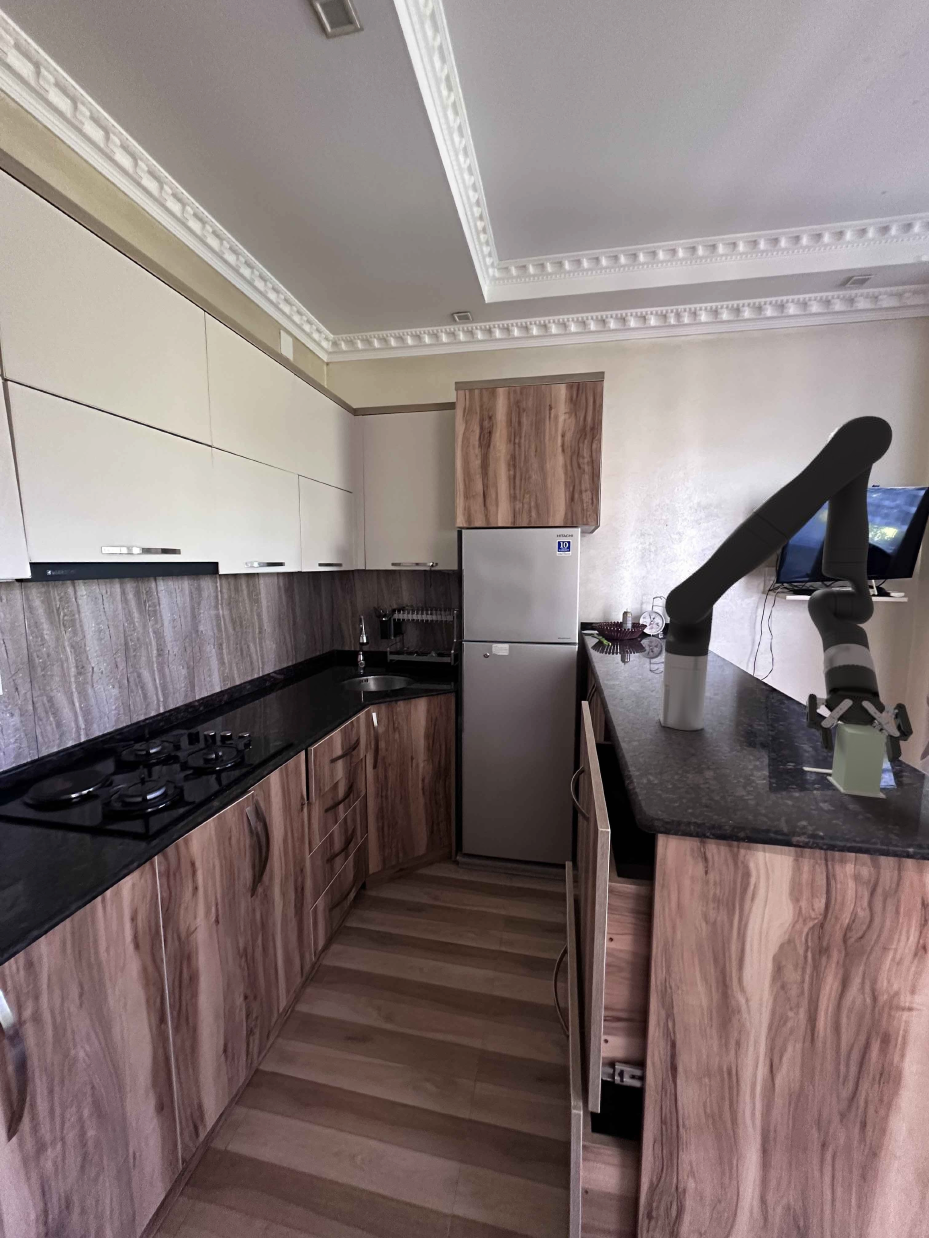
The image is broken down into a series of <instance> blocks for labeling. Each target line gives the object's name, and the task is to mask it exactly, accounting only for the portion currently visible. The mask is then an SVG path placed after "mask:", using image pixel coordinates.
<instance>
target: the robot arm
mask: <svg viewBox="0 0 929 1238" xmlns="http://www.w3.org/2000/svg"><path fill="white" fill-rule="evenodd" d="M892 441H893V429H892V427H891V425H890V423H889V422H888V421H887V420H886V419H884V418H882V417H879V416H875V415H863V416H859V417H853V418H852V419H850V420H847V421H845V422H844V423H842V424H840V425H839V426H838V427H836V428H835V429H834V430H833V431H832V432H831V433H830V434H829V435H828V437H827V438H826V440H825V443H824V446H823V447H822V448H821V449H820V451H819V452H818V453H817V454H816V455H815V457H814V458H813V459H812V460H811V461H810V462H809V463H808V464H807V465H806V467H804V468H803V469H802V471H800V472H799V473H798V474H797V475H796V476H795V477H793V478H792V479H791V480H790V481H788V482H787V483H786V484H784V485H783V486H781V487H780V488H779V489H777V490H776V491H775V492H774V493H772V494H771V495H770V496H768V497H767V498H766V499H765V500H764V501H763V502H761V503H760V504H759V505H758V506H757V507H756V508H755V509H753V511H752V512H750V513H749V514H748V515H747V517H745V518H744V519H743V521H741V522H740V523H739V524H738V525H737V526H736V528H735V529H734V530H733V531H732V532H731V533H730V534H728V536H727V537H726V538H725V539H724V541H723V542H722V543H721V544H720V545H719V546H718V547H717V549H716V550H715V551H714V552H713V554H712V555H711V556H710V557H709V558H708V560H706V562H704V563H703V564H702V565H701V566H699V568H697V569H696V570H695V571H694V572H693V573H692V574H691V575H689V576H688V577H686V578H685V579H684V580H683V581H681V583H679V584H678V585H676V587H674V588H672V589H671V590H670V592H669V593H668V595H666V598H665V601H664V609H665V614H666V615H667V617H668V618H669V623H668V631H667V635H666V638H665V641H664V658H663V670H662V671H663V672H662V673H663V674H662V680H661V681H660V682H661V686H660V699H659V701H660V702H659V716H658V718H659V719H658V720H659V722H660V724H661V726H662V727H668V728H671V729H675V730H680V731H699V730H702V729H703V728H704V720H705V716H704V715H705V703H706V691H707V677H708V676H707V673H708V664H709V663H708V661H709V660H708V659H709V648H710V643H711V638H712V626H713V616H714V615H713V614H714V606H715V605H716V603H718V601H719V600H720V599H721V598H722V597H723V596H724V595H725V594H726V592H727V591H729V589H731V587H733V586H734V585H735V584H736V583H738V582H739V581H740V580H742V579H743V578H745V576H747V575H749V574H750V573H752V572H753V571H755V570H756V569H758V568H759V567H760V566H762V565H763V564H764V563H765V562H767V561H768V560H769V559H770V558H771V557H773V556H775V554H777V553H778V552H779V550H781V549H782V548H783V547H784V546H785V545H786V544H788V543H789V542H790V541H791V540H792V539H793V538H794V537H795V536H796V535H797V533H799V532H800V531H801V530H802V529H803V528H804V527H805V525H807V524H808V523H809V522H810V520H812V518H814V517H815V516H816V514H817V513H819V511H820V510H821V509H822V507H824V505H826V503H827V502H828V503H827V514H826V515H827V516H826V525H825V531H824V540H823V541H824V543H823V553H822V554H823V555H822V565H821V572H822V574H823V576H825V577H828V578H832V579H837V580H838V579H839V580H842V581H846V582H848V583H849V584H850V587H851V588H850V589H835V588H834V589H829V588H828V589H827V588H825V589H819V590H818V589H817V590H816V591H814V592H813V593H812V594H811V595H810V596H809V598H808V602H807V611H808V614H809V616H810V619H811V621H812V623H813V625H814V626H815V628H816V629H817V632H818V634H819V635H820V638H821V642H822V643H821V644H822V650H823V662H822V665H823V670H822V673H823V676H824V683H825V692H826V694H825V695H826V698H825V697H824V698H823V697H818V696H817V695H816V694H815V693H809V694H808V695H807V699H806V701H805V712H806V713H805V727H806V728H807V729H809V730H815V731H817V732H818V733H819V744H820V747H821V749H822V750H824V751H825V753H828V754H832V752H833V751H834V742H833V741H834V739H833V731H832V728H834V727H835V726H837V723H843V724H854V725H864V726H872V727H874V728H875V729H877V730H878V731H880V732H881V733H882V734H884V735H885V736H886V742H885V750H886V757H887V761H888V763H892V764H893V763H896V762H897V760H899V759H900V758H901V757H902V754H903V753H902V748H901V741H902V742H907V741H908V740H910V738H911V736H912V735H913V734H914V730H913V726H912V724H911V721H910V716H909V715H908V714H909V713H908V711H907V707H906V705H905V704H904V703H902V702H897V703H896V705H895V704H894V705H893V704H892V705H890V704H884V703H883V702H882V700H881V697H880V691H879V685H878V680H877V673H876V668H875V667H876V666H875V663H874V660H873V657H872V653H871V649H870V644H869V639H868V633H867V631H866V630H865V628H863V626H860V625H863V624H865V623H867V622H869V620H870V619H871V618H872V617H873V615H874V611H875V610H874V609H875V608H874V607H875V606H874V601H873V596H872V593H871V590H870V586H869V580H868V573H867V567H868V565H867V564H868V554H869V553H868V552H869V544H870V523H869V515H868V513H869V512H868V488H869V481H870V476H871V472H872V469H873V465H874V464H876V463H877V462H878V461H880V460H881V459H882V458H883V457H884V455H886V453H887V452H888V451H889V449H890V447H891V444H892ZM822 706H824V707H825V708H826V709H827V710H828V712H829V715H828V716H827V717H826V718H824V720H823V721H821V720H819V719H818V710H820V709H821V707H822ZM883 713H886V714H887V715H888V716H889V718H890V719H893V721H894V725H895V727H894V726H892V724H891V723H890V720H889V719H887V718H886V716H884V715H883Z"/></svg>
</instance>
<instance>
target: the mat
mask: <svg viewBox="0 0 929 1238" xmlns="http://www.w3.org/2000/svg"><path fill="white" fill-rule="evenodd" d="M826 779H827V780H828V781H829V782H830V783H831V784H832V785H833V786H834V787H835V788H836V789H838V790H839V792H841V794H845V795H854V796H860V797H861V796H862V797H871V798H878V799H879V798H880V799H886V797H887V796H886V795H885V794H883V793H882V792H881V791H880V793H879V795H878V794H870V793H863V792H855V791H848V790H843V789H842V788H841V787H840V786H839V785H838V784H837V783H836V782H835V781H834V780H833V779H832V776H826Z"/></svg>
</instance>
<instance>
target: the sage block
mask: <svg viewBox="0 0 929 1238" xmlns="http://www.w3.org/2000/svg"><path fill="white" fill-rule="evenodd" d="M835 731H836V732H835V739H834V740H835V741H834V748H833V760H832V768H831V770H832V774H831V777H832V779H833V780H834V781H835V782H836V783H837V784H838V785H839V786H840V787H841V788H842V789H843V790H848V791H855V792H863V793H870V794H878V795H879V793H880V792H881V785H882V784H881V783H882V779H881V777H883V776H882V774H883V767H884V766H883V765H884V759H885V750H886V745H885V742H886V736H885V735H884V734H882V733H881V732H880V731H878V730H877V729H875V728H874V727H872V726H864V725H854V724H844V723H842V722H838V723H837V724H836V730H835Z"/></svg>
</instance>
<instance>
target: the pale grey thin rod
mask: <svg viewBox="0 0 929 1238" xmlns="http://www.w3.org/2000/svg"><path fill="white" fill-rule="evenodd" d="M802 769H803V770H804V771H805V772H813V773H823V774H829V775H830V774H831V775H832V769H823V768H817V767H816V768H814V767H806V766H805V767H804V766H803V767H802ZM883 779H884V778H883V776H881V780H883Z"/></svg>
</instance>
